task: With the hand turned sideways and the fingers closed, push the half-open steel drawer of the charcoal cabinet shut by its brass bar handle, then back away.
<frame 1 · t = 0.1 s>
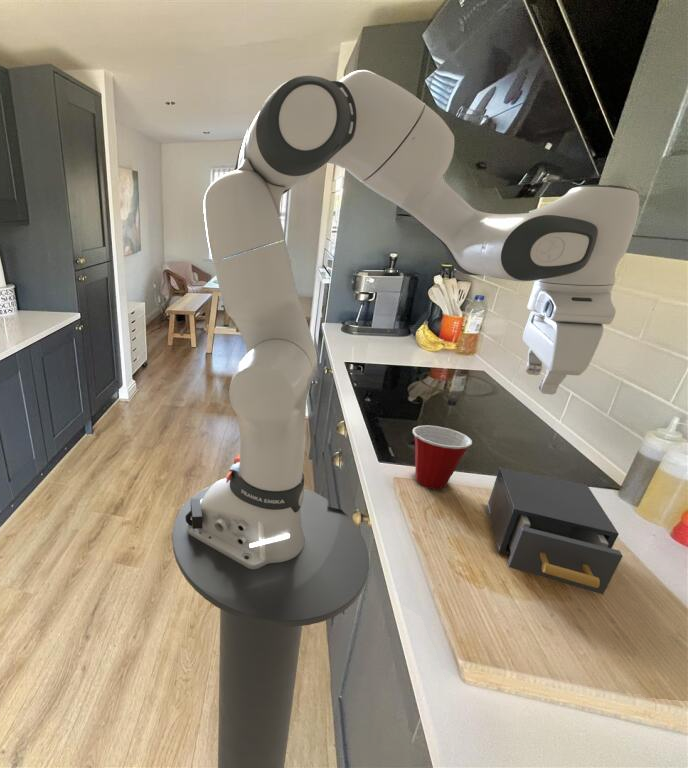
hand: (538, 382, 67), 29 cm above the countertop, tool pointing down, fingers open, 8 cm apart
cabinet: (534, 539, 72), on the countertop
drawer: (554, 543, 65), point 5 cm above the countertop, slide at 3.0 cm
plastic cup: (429, 481, 89), on the countertop
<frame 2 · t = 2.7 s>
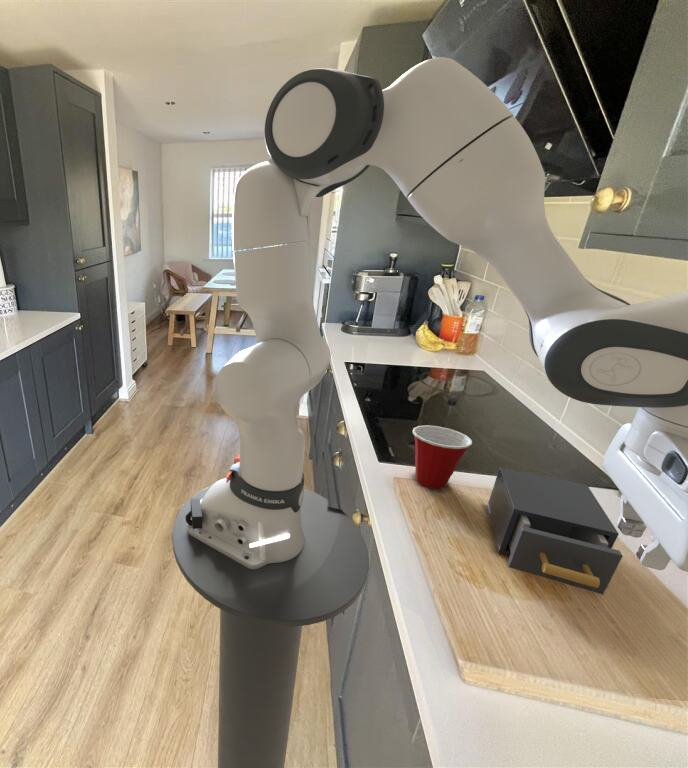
hand: (637, 547, 46), 19 cm above the countertop, tool pointing down, fingers open, 4 cm apart
nothing on the countertop moved.
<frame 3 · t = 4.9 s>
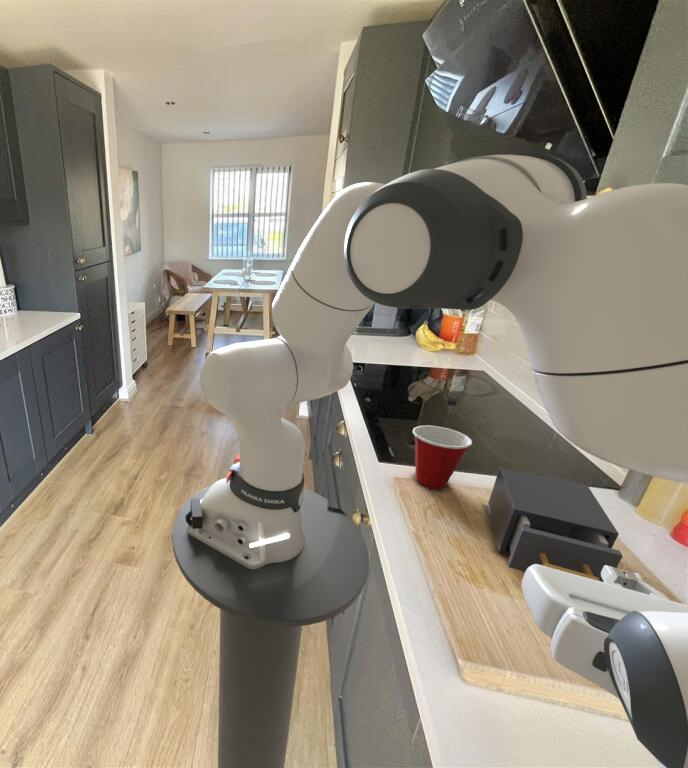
hand: (618, 573, 48), 14 cm above the countertop, tool horizontal, fingers closed
nothing on the countertop moved.
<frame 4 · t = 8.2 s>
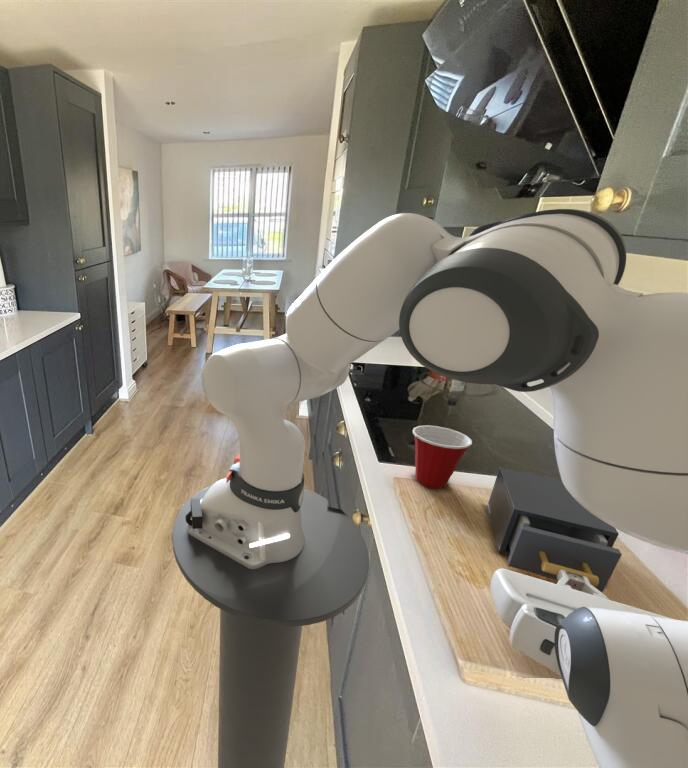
hand: (571, 576, 58), 5 cm above the countertop, tool horizontal, fingers closed, pressing on drawer
drawer: (553, 542, 65), point 5 cm above the countertop, slide at 2.7 cm, touching gripper
everything else where it was.
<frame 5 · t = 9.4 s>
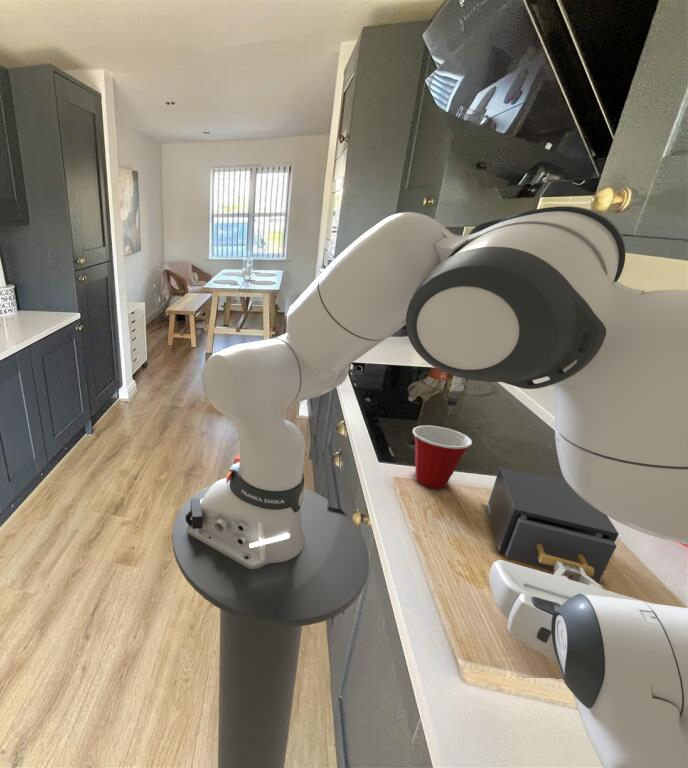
hand: (567, 567, 60), 5 cm above the countertop, tool horizontal, fingers closed
drawer: (550, 535, 67), point 5 cm above the countertop, slide at 0.9 cm
everything else where it was.
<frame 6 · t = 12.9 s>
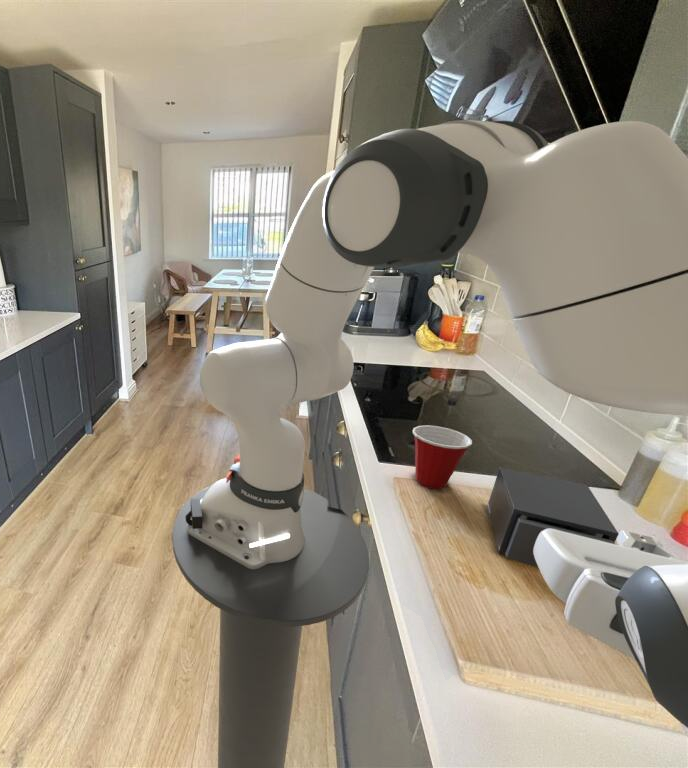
hand: (635, 538, 46), 20 cm above the countertop, tool horizontal, fingers closed
nothing on the countertop moved.
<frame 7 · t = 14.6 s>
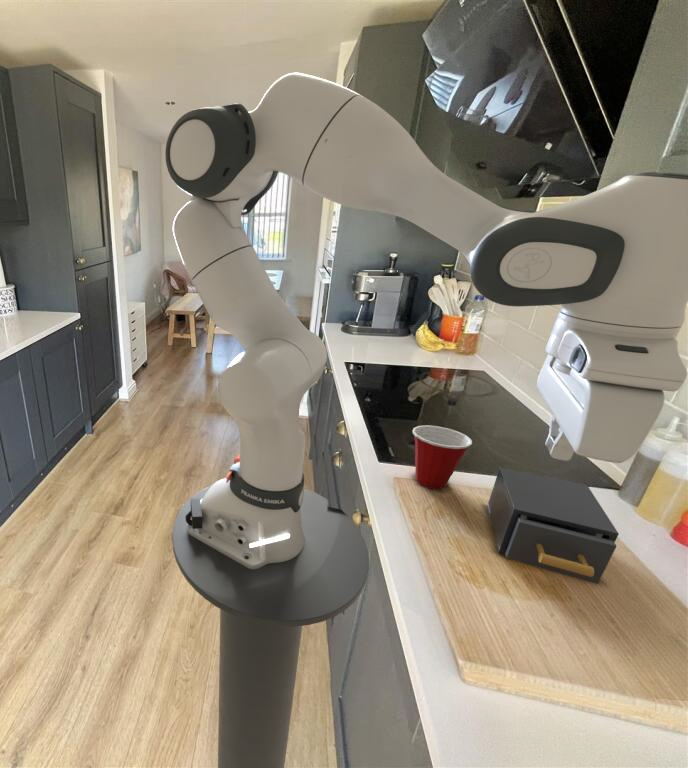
hand: (556, 453, 48), 28 cm above the countertop, tool pointing down, fingers closed
nothing on the countertop moved.
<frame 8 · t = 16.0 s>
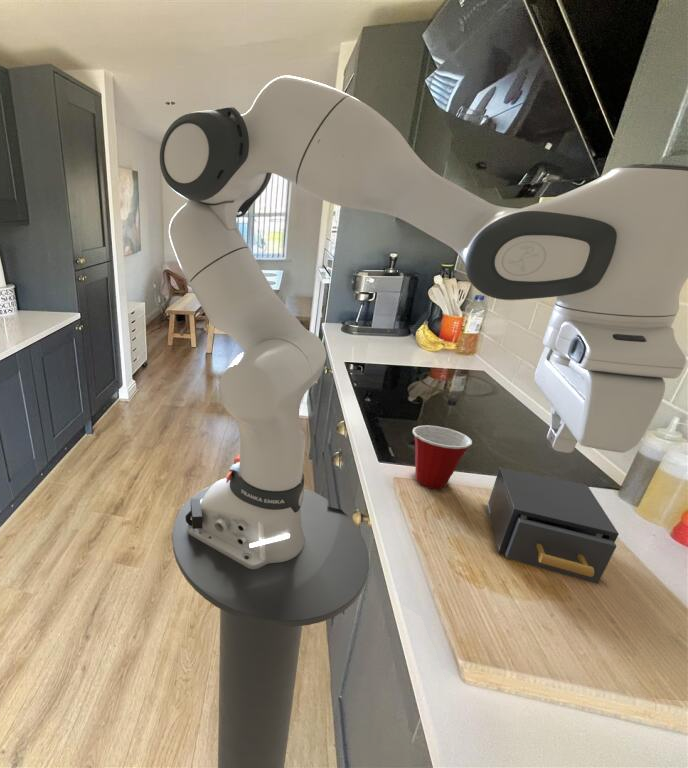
hand: (558, 446, 48), 29 cm above the countertop, tool pointing down, fingers closed
nothing on the countertop moved.
at the end: drawer slide at 0.9 cm; plastic cup moved 0.2 cm from its start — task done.
